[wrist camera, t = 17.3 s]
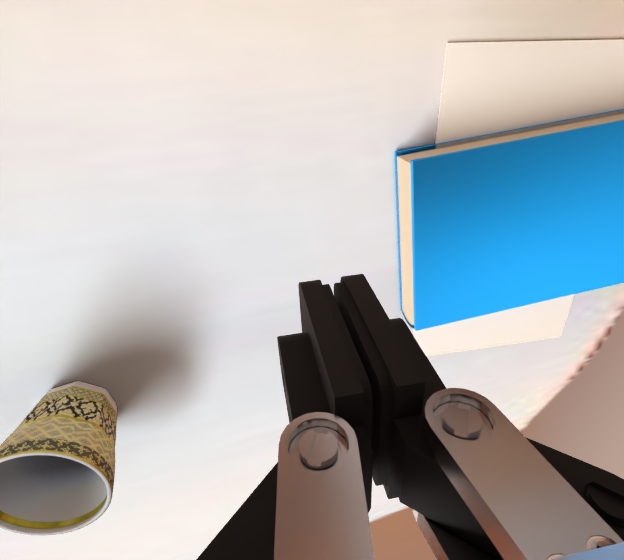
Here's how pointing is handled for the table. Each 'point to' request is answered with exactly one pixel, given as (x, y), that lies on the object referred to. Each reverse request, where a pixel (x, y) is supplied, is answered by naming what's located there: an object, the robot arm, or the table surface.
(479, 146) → the book
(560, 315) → the mat
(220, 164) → the table surface
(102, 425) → the ceramic cup
